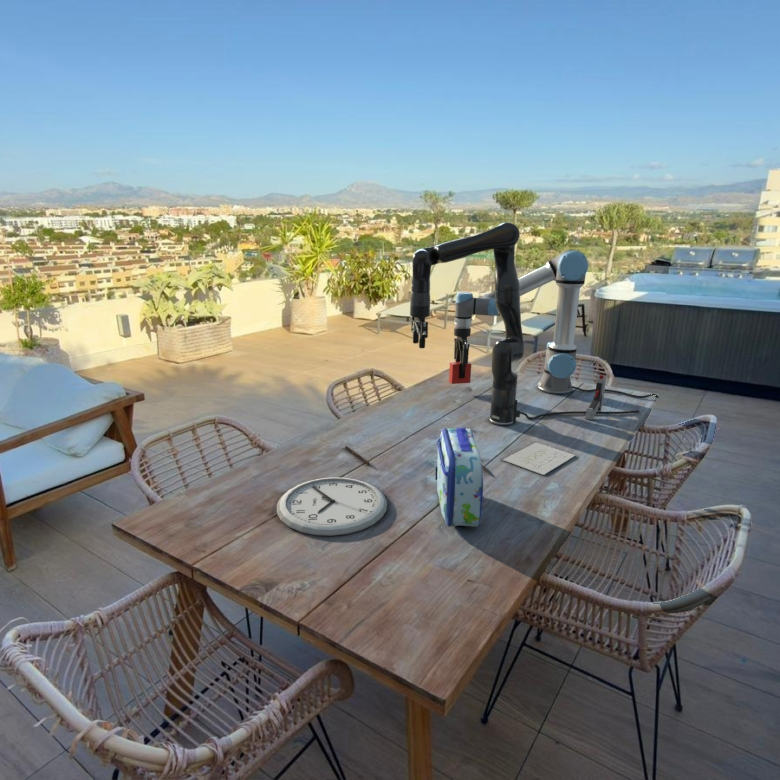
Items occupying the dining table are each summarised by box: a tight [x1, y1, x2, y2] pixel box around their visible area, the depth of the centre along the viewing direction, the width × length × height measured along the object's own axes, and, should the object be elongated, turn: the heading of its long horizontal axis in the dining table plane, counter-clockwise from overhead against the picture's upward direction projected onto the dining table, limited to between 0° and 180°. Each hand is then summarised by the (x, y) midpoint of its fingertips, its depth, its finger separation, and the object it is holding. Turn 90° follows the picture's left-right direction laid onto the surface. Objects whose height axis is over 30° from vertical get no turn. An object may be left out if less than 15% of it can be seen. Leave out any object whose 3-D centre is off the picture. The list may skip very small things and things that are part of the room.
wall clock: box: [276, 476, 388, 537], centre depth 142 cm, size 30×2×30 cm
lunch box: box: [434, 427, 484, 528], centre depth 139 cm, size 26×11×21 cm, turn 179°
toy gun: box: [585, 374, 606, 421], centre depth 213 cm, size 2×16×15 cm
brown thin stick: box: [344, 445, 370, 465], centre depth 173 cm, size 15×1×1 cm, turn 34°
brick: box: [448, 361, 472, 385], centre depth 244 cm, size 4×9×9 cm, turn 104°
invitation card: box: [502, 442, 577, 476], centre depth 174 cm, size 21×1×15 cm
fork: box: [482, 465, 488, 474], centre depth 169 cm, size 3×16×2 cm, turn 15°
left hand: (418, 345), depth 203 cm, fingers open, 8 cm apart
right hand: (459, 376), depth 244 cm, fingers closed on brick, 4 cm apart
